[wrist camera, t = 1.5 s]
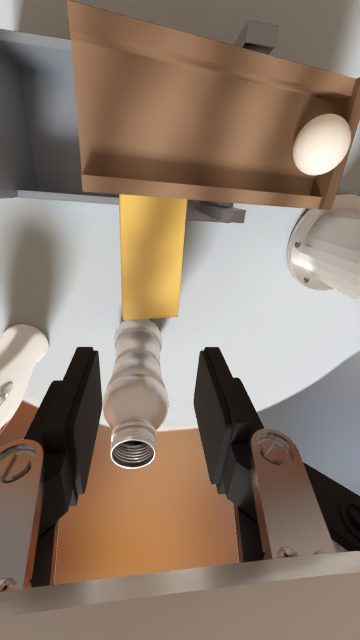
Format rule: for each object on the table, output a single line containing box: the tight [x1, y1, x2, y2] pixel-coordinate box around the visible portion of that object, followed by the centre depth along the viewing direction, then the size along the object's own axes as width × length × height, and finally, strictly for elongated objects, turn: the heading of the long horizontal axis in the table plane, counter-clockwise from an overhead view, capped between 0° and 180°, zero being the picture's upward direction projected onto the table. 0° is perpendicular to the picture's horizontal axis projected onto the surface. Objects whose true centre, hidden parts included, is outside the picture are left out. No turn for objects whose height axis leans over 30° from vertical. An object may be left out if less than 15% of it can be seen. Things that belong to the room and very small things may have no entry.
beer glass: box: [0, 324, 49, 433], centre depth 30 cm, size 7×7×15 cm
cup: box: [0, 29, 119, 205], centre depth 22 cm, size 11×11×12 cm
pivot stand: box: [186, 21, 278, 223], centre depth 24 cm, size 6×14×11 cm, turn 175°
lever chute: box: [67, 0, 360, 320], centre depth 23 cm, size 21×19×6 cm
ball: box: [293, 114, 351, 175], centre depth 20 cm, size 4×4×4 cm
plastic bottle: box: [102, 319, 169, 469], centre depth 29 cm, size 6×7×20 cm
